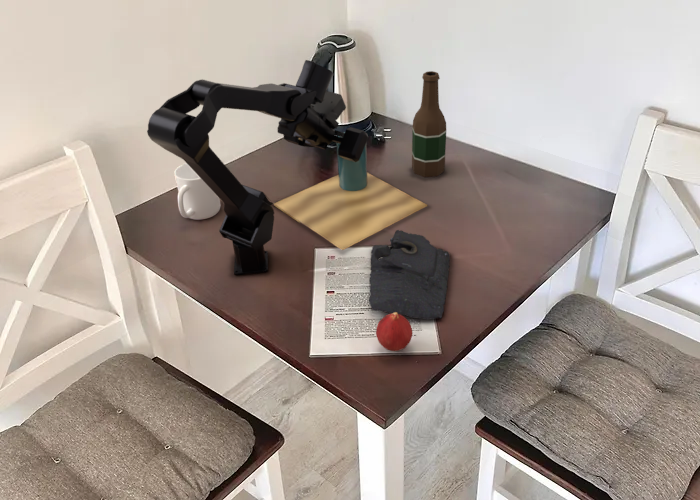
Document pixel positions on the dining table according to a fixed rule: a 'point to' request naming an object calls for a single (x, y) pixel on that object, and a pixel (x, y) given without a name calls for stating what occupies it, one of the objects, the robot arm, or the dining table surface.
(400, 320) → the onion
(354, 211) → the mat
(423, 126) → the beer bottle
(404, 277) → the dark slate chunk
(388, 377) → the dining table surface
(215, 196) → the cup
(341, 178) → the pot
